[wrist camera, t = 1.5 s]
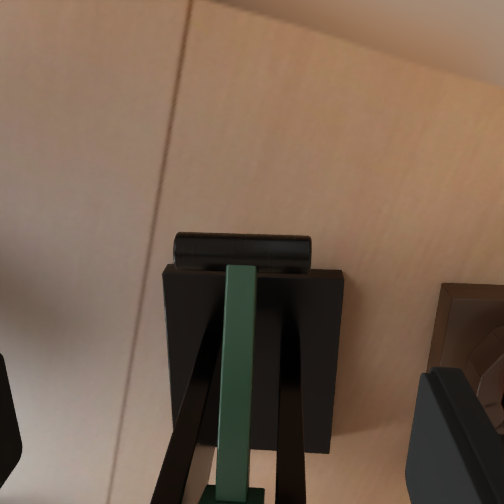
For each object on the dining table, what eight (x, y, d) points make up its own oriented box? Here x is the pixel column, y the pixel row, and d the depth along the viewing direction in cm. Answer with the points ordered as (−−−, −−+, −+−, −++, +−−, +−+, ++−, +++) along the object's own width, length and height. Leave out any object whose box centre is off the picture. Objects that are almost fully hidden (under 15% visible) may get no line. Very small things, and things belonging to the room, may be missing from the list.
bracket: (167, 263, 25) (56, 448, 13) (342, 269, 24) (391, 469, 12) (178, 430, 29) (101, 686, 17) (327, 438, 28) (355, 711, 16)
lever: (184, 237, 19) (170, 225, 17) (308, 241, 19) (312, 230, 17) (163, 562, 18) (145, 599, 15) (300, 572, 17) (303, 612, 15)
